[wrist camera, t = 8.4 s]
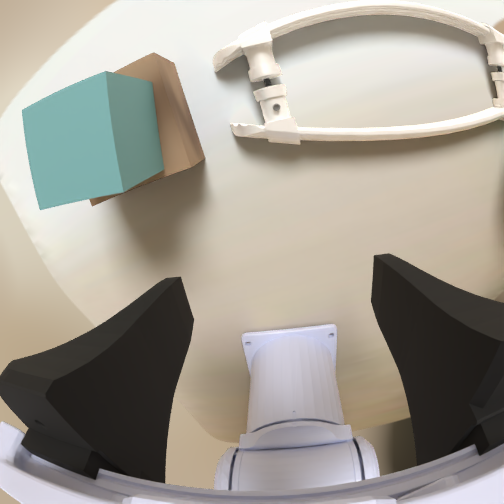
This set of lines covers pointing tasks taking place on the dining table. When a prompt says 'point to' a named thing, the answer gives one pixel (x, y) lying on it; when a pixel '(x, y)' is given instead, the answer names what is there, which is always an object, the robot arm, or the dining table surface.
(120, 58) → the dining table surface
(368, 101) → the dining table surface
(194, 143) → the walnut block
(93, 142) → the teal cube
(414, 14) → the white curved loop
